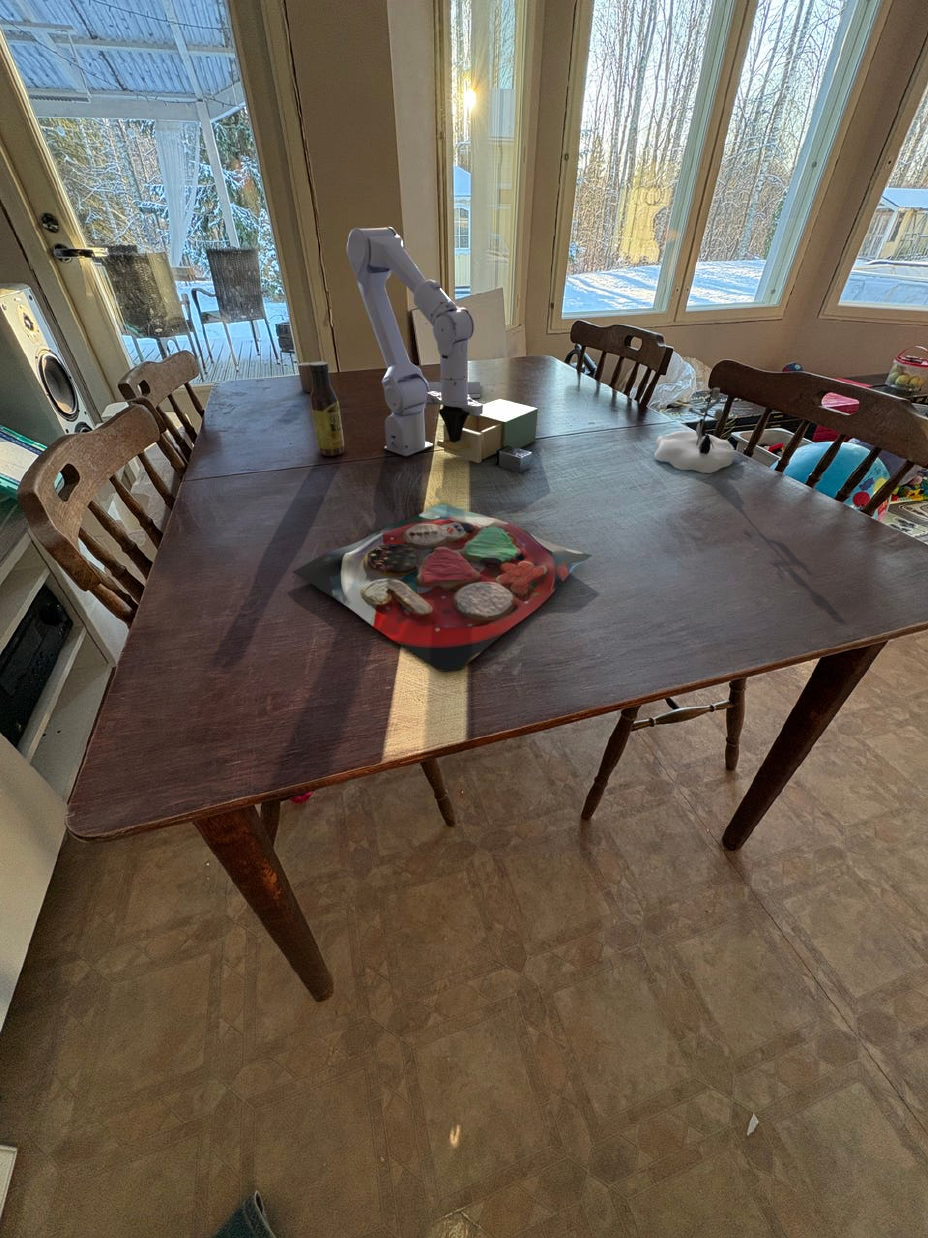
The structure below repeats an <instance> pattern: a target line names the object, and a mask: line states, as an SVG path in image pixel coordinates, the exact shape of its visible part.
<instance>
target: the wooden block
mask: <svg viewBox="0 0 928 1238" xmlns="http://www.w3.org/2000/svg"><path fill="white" fill-rule="evenodd" d="M310 363H311V362H307V361H305V362H302V363H298V364H297V369H298V374H299V379H300V384H301V389H302V391H303V392H306V393H310V394H311V392H312V389H313V386H314V385H313V380H312V374H311V371H310V367H309V364H310Z"/></svg>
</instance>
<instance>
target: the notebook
mask: <svg viewBox="0 0 928 1238" xmlns="http://www.w3.org/2000/svg"><path fill="white" fill-rule="evenodd" d="M427 383H428V385H429V388H430V392H433V391H435V392H441V381H427ZM481 394H482V393H481V382H480V381H468V395H469V398H470V399H481V397H482V396H481Z"/></svg>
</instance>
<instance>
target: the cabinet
mask: <svg viewBox="0 0 928 1238" xmlns="http://www.w3.org/2000/svg"><path fill="white" fill-rule="evenodd" d="M538 414H539V408H538V407H533V406H529V405H525V404H521V403H517V402H513V401H510V400H505V399H501V398H498V399H495V400H493V401H489V402H487V403H484V405H483V414H480V415H478V417H482V418H485V419H489V420H493V421H496V422H500V423H503V424H504V428H503V447H505V446H507V445H509V446H512V447H515V448H518V449H521V448H523V447H525V446H527V445H530V444H532V443H534V442H536V435H537V425H538V423H537V422H538ZM469 415H474V413H469ZM469 415H468V416H469ZM475 416H476V415H475Z"/></svg>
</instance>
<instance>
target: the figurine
mask: <svg viewBox="0 0 928 1238" xmlns="http://www.w3.org/2000/svg"><path fill="white" fill-rule="evenodd" d="M720 392H721V388H720V387H717V386H716V387H714V388H713V387H712V388H711V389H709V390H708V391H707V392H706V395H707V396H708V397H707V398H705V400H704V401H703V403H702V404H706V405H705V407H704V406H703V407H702V408H699V412H698V411H695V410H694V409H693V408H692V407H689V408H688V412H689V413H692V414H693V415H697V416H699V417H703V418H699V420H698V421H699V422H698V424H697V426H696V429H695V431H691V430H688V429H687V430H686V429H683V430H678V431H674V432H672V433H668V434H665V435H659V436H658V437H657V438H656V441H655V446H656V447H657V449H656V451H655V452H654V459H655V460H657V461H659V462H665V463H669V464H670V465H671V466H673V467H674V469H678V470H681V471H696V472H699V473H703V474H712V473H715V472H717V471H719V470H721V469H722V468H726V467H730V466H731V465H732V463H733V461H734V459H735V458H736V457H737V454H738V453H737V451H736V449H735V448H734V446H733V445H732V444H731V443H730V442H729V441H728V439H727V440H726V439H722V438H721V439H720V438H718V437H717V436H714V435H712V434H709V433H706V431H707V424H706V422H705V421H706V418H707V417H708V418H711V419H715V420H717V421H722V416H723V414H724V411H723V409H721V408H718V409H716V410H715V411H714V413H713V415H712V414H709V411H711V412H713V411H712V408H713V407H715V406H716V405H717V404H719V403H720V402H721V401H722V400H721V398H722V397H721V396H719V395H720ZM713 399H715V400H714V401H713V402H712V403H711V401H712V400H713ZM727 447H728V448H727ZM729 448H731V449H729ZM733 449H735V450H733Z"/></svg>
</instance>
